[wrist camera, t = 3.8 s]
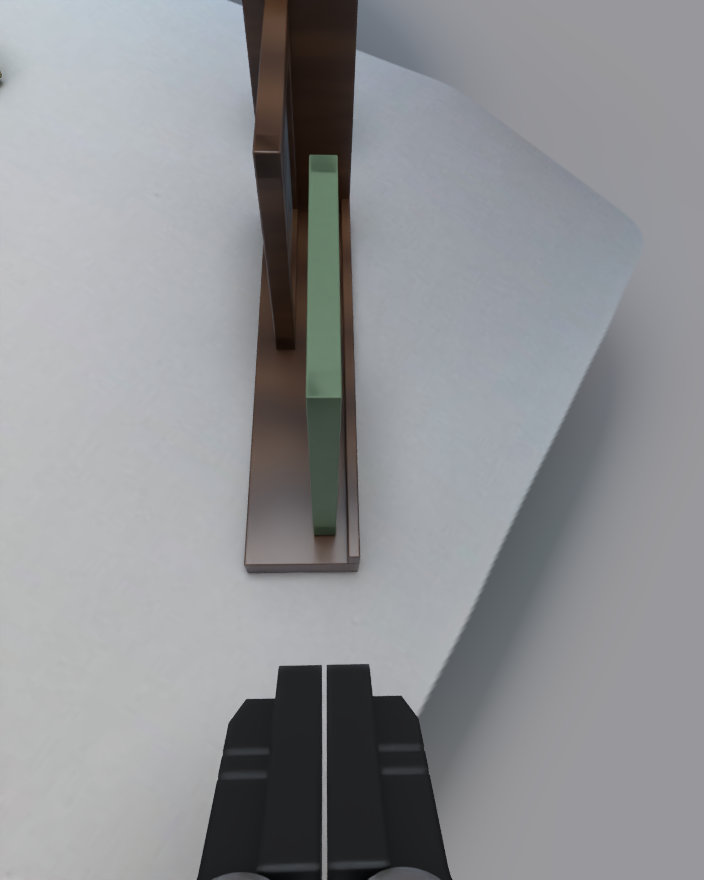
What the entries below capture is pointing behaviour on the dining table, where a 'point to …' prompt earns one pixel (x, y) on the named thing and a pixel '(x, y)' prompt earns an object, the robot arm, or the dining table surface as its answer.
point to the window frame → (298, 275)
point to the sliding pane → (323, 342)
